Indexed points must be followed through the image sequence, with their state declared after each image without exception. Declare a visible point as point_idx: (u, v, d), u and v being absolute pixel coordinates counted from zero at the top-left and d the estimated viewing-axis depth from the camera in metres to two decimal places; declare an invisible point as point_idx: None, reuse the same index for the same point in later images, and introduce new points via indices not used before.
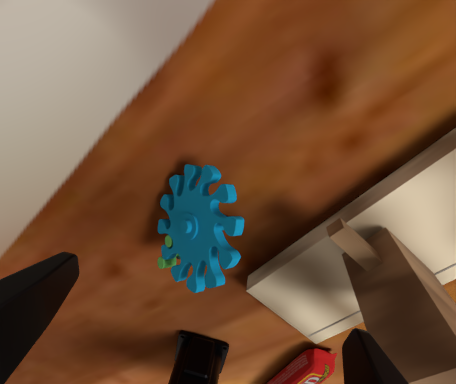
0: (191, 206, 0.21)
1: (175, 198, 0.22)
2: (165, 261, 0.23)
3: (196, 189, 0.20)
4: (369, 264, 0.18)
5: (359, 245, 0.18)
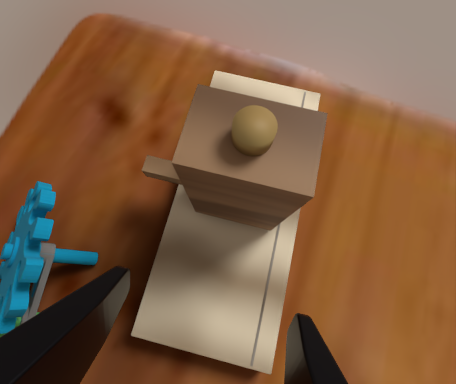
0: (17, 234, 0.19)
1: None
2: None
3: (21, 216, 0.20)
4: None
5: (170, 163, 0.19)
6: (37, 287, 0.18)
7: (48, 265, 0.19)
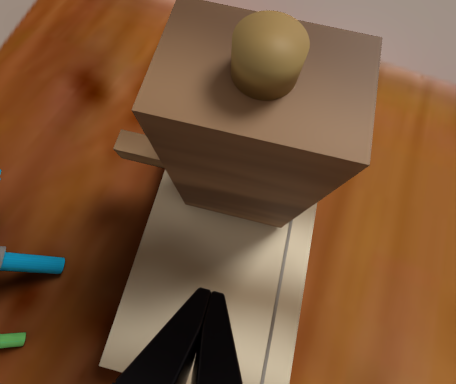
0: None
1: None
2: None
3: None
4: None
5: None
6: None
7: None
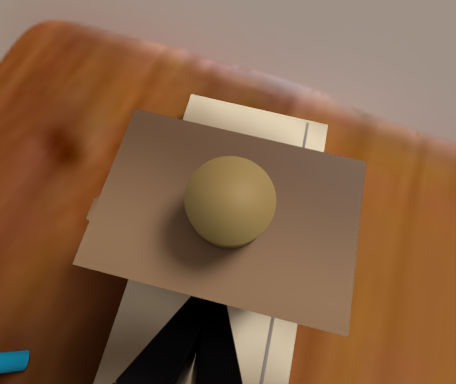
0: None
1: None
2: None
3: None
4: None
5: None
6: None
7: None
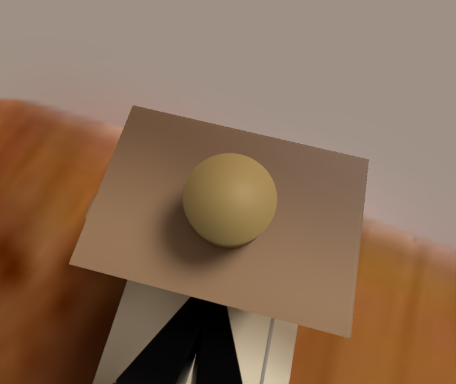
0: None
1: None
2: None
3: None
4: None
5: None
6: None
7: None
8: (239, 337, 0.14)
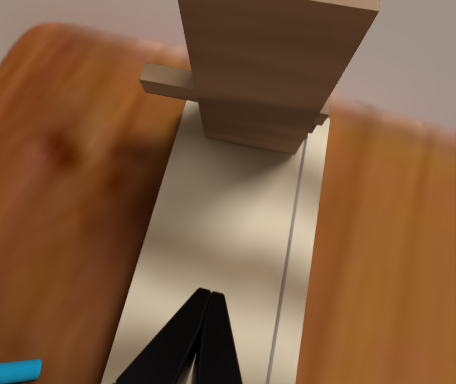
0: None
1: None
2: None
3: None
4: None
5: (173, 70, 0.15)
6: None
7: None
8: (271, 191, 0.17)
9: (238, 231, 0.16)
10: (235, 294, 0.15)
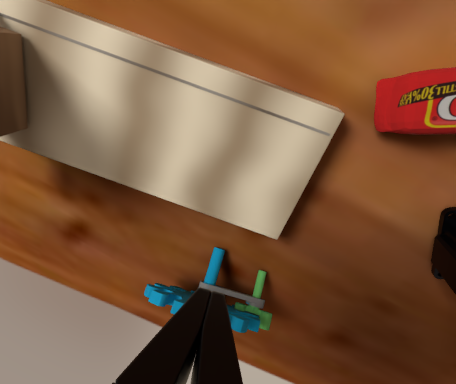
0: None
1: None
2: (259, 324, 0.23)
3: None
4: None
5: None
6: (232, 296, 0.22)
7: (216, 289, 0.22)
8: (65, 67, 0.17)
9: (108, 106, 0.17)
10: (161, 117, 0.17)
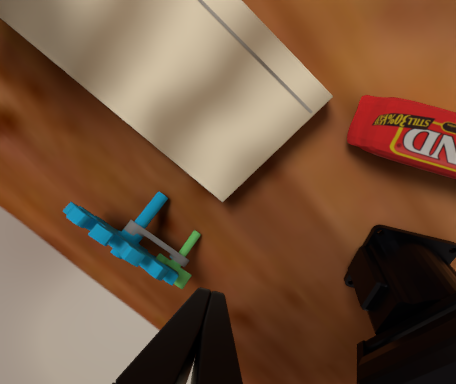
0: None
1: None
2: (174, 280, 0.22)
3: None
4: None
5: None
6: (159, 245, 0.21)
7: (145, 232, 0.21)
8: None
9: None
10: (149, 19, 0.15)
